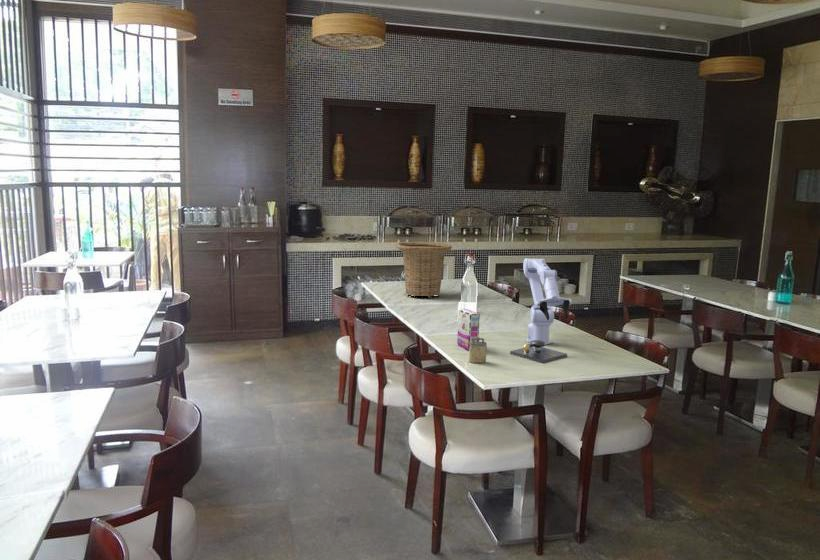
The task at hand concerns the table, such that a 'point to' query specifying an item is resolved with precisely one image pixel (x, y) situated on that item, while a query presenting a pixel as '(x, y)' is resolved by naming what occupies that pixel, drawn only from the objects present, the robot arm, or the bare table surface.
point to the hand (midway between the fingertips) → (557, 318)
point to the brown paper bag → (477, 351)
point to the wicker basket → (423, 266)
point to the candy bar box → (467, 327)
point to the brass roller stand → (533, 343)
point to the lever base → (539, 354)
